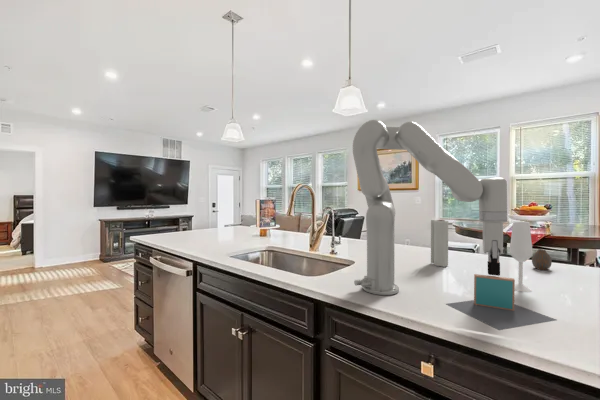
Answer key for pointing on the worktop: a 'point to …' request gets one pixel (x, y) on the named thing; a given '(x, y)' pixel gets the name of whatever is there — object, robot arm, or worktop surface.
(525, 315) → the mat
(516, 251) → the champagne flute
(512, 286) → the tile
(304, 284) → the worktop surface
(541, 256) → the patterned egg
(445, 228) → the grey tall block
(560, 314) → the worktop surface
